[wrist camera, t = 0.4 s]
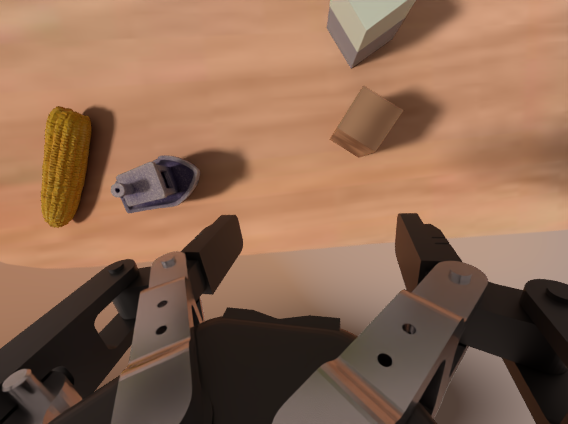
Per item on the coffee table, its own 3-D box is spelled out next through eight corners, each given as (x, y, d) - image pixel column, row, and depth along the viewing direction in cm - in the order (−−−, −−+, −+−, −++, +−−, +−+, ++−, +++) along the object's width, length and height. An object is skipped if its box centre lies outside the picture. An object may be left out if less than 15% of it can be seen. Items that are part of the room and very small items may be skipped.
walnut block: (329, 139, 39) (337, 127, 29) (349, 108, 38) (363, 85, 28) (358, 157, 39) (375, 151, 29) (378, 126, 38) (403, 110, 28)
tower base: (326, 28, 37) (329, 5, 32) (367, -3, 35) (377, -32, 30) (350, 68, 37) (357, 52, 32) (391, 39, 36) (405, 18, 31)
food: (74, 109, 43) (37, 99, 37) (103, 119, 42) (70, 110, 36) (59, 220, 46) (23, 227, 40) (85, 229, 46) (53, 237, 40)
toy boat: (143, 217, 44) (82, 232, 31) (127, 175, 43) (57, 173, 30) (220, 193, 43) (191, 198, 30) (205, 150, 42) (169, 136, 29)
